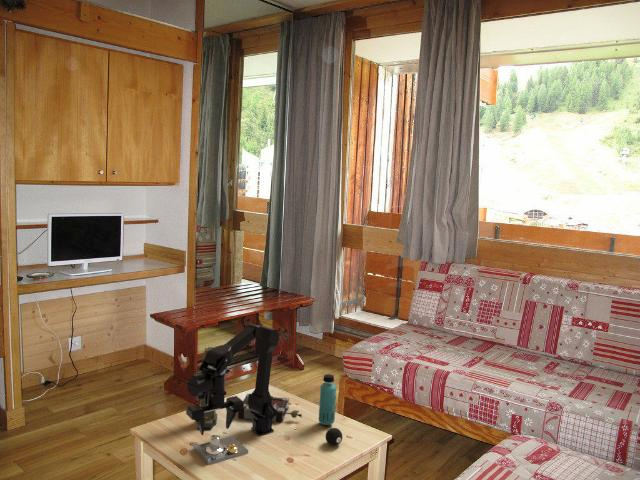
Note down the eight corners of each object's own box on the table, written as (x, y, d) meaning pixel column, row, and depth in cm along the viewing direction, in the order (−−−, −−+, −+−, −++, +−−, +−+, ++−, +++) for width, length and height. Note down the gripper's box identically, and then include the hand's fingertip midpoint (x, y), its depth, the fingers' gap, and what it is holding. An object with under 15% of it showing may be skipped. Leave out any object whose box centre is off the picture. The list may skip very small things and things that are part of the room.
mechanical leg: (211, 432, 200) (217, 349, 203) (192, 431, 200) (198, 348, 203) (218, 424, 213) (224, 347, 217) (200, 423, 213) (206, 346, 217)
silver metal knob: (219, 446, 190) (219, 431, 189) (226, 454, 185) (227, 438, 184) (202, 450, 186) (203, 435, 186) (210, 458, 182) (210, 443, 181)
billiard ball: (331, 450, 193) (332, 434, 193) (322, 443, 198) (322, 427, 198) (345, 446, 197) (346, 430, 196) (335, 439, 202) (336, 423, 201)
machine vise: (246, 404, 229) (247, 392, 228) (305, 410, 226) (306, 398, 225) (237, 419, 214) (237, 407, 214) (299, 426, 211) (300, 413, 210)
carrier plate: (232, 438, 198) (232, 429, 198) (248, 453, 188) (248, 443, 188) (193, 448, 189) (193, 439, 189) (207, 464, 180) (208, 454, 179)
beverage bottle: (320, 429, 209) (323, 379, 206) (316, 421, 215) (318, 372, 213) (336, 427, 211) (339, 378, 208) (331, 420, 217) (334, 371, 215)
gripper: (230, 374, 195) (229, 416, 197) (180, 384, 184) (179, 428, 186) (245, 385, 186) (243, 429, 188) (193, 396, 175) (192, 442, 177)
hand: (214, 431), depth 185 cm, fingers open, 9 cm apart
